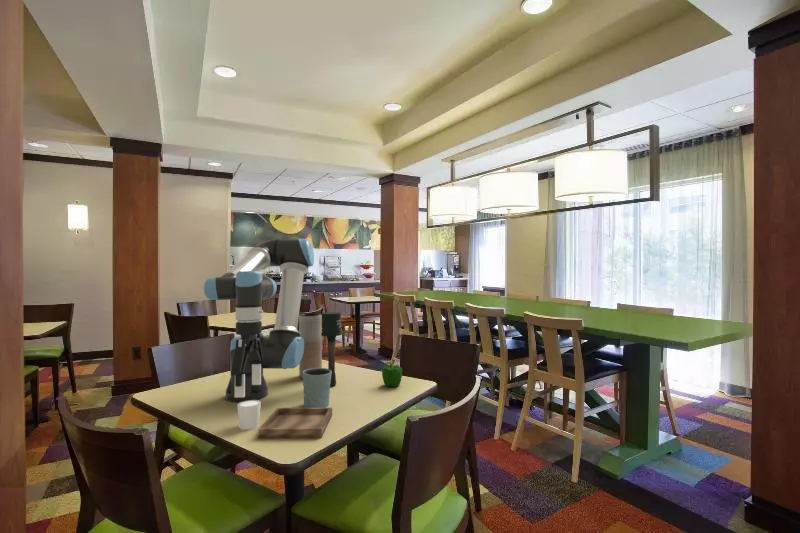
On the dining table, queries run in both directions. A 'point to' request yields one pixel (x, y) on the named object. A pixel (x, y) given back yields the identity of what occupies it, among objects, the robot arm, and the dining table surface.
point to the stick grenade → (331, 338)
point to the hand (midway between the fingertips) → (248, 390)
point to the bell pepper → (391, 374)
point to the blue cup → (316, 387)
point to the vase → (310, 341)
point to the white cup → (249, 414)
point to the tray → (296, 423)
